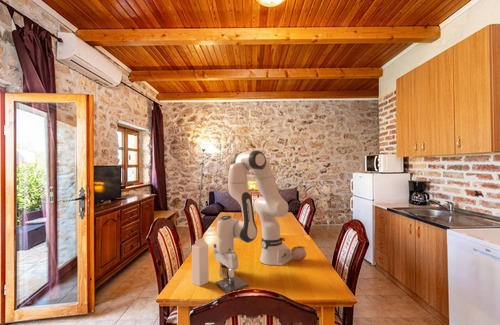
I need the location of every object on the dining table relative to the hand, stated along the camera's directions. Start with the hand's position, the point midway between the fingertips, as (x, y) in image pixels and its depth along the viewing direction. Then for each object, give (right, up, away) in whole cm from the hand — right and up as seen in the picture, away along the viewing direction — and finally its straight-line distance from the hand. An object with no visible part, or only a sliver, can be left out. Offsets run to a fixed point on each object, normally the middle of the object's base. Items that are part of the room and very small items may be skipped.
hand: (225, 272), depth 136 cm
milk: (-12, -2, -8) cm, 14 cm away
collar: (0, -2, 0) cm, 2 cm away
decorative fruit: (+42, -1, +18) cm, 46 cm away
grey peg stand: (+4, -2, -11) cm, 12 cm away
